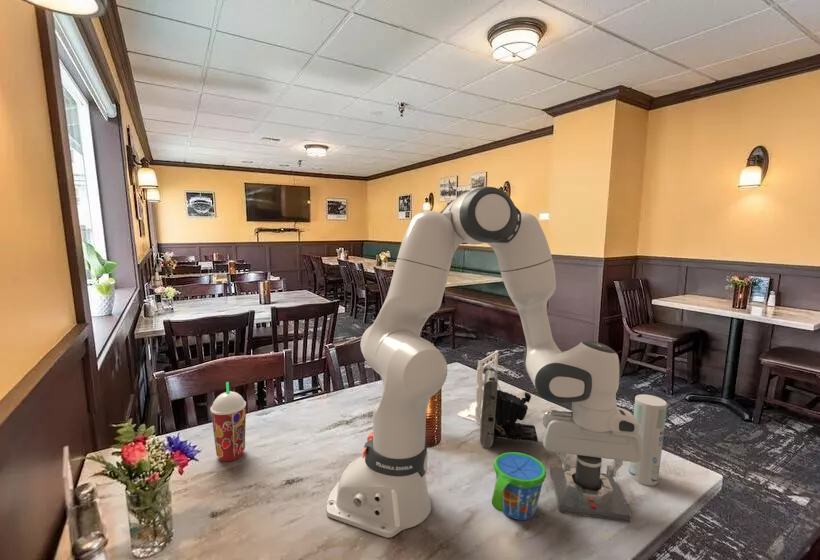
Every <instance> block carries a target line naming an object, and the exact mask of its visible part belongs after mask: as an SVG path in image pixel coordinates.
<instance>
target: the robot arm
mask: <svg viewBox="0 0 820 560" xmlns="http://www.w3.org/2000/svg"><path fill="white" fill-rule="evenodd" d="M402 238H403V239H402V241H401V243H400V246H399V251H398V255H397V259H396V262H395V266H394V269H393V273H392V277H391V281H390V285H389V288H388V290H387V291H388V292H387V295H386V297H385V300H384V302H383V304H382V307H381V308H380V310H379V312H378V313H377V316H376V318H375V320H374V322H373V323H372V324H371V325H369V327H367V328H366V329H365V331H364V332H363V334H362V335H361V339H360V350H361V353H362V355H363V358H364V360H365V362H366V363H367V365H368V366H369V367H370V368H371V369H372V370H374V371H375V372H376V373H377V374H378V375H379V376H380V378H381V381H382V392H381V398H380V399H379V402H377V403H376V404H375V406H374V408H373V411H372V431H371V432H369V435H368V437H367V439H366V440H367V441H366V442H365V445H364V446H363V447H364V448H363V450H362V453H361V454H362V455H360V456H359V457H357V458H356V459H354V460H353V461H351V462H350V463H349V464H348V465H347V466H346V468H345V470H344V471H343V473H342V474H341V477H340V480H338V482H337V483H336V484H335V485H334V487H333V488H332V490H331V492H330V494H329V496H328V497H327V501H326V507H325V512H326V516H327V517H329V518H331V519H333V520H336V521H338V522H341V523H344V524H347V525H350V526H353V527H355V528H358V529H361V530H363V531H366V532H370V533H373V534H375V535H378V536H382V537H383V538H387V539H389V538H393V537H394V536H396V535H397V534H399V533H400V532H401V531H404V530H406V529H410V528H413V527H416V526H418V525H419V524H422V522H424V521H425V520H426V519H427V517H429V515H430V513H431V510H432V500H431V497H430V494H429V490H428V484H427V475H426V472H427V470H428V469H427V468H428V447H427V446H428V444H427V441H426V421H427V420H426V419H427V410H428V406H429V403H430V400H431V398H432V397H433V396H435V395H436V394H437V393H438V392H439V391H441V389H442V387H443V386H444V384H445V383H446V380H447V376H448V364H447V360H446V358H445V356H444V355H443V354H442V353H441V351H440V350H439V349H438V348H437V347H436V346H435V345H434V344H433V343H432V342H431V341H429V340H427V339H425V338H423V337H421V335H420V334H421V331H422V329H423V327H424V326H425V324H426V322H427V320H428V319H429V318H430V317H431V315H434V313H437V311H439V309H440V308H441V305H442V302H443V297H444V293H445V289H446V286H447V282H448V278H449V275H450V272H449V271H450V269H451V265H452V259H453V257H454V255H455V252H456V250H457V249H458V248H459V246H460V245H481V244H487V245H488V246H490V248H491V249H492V250H493V252H494V254H495V255H496V256H495V257H496V258H497V263H498V268H499V271H500V272H499V273H500V276H501V279H502V282H503V284H504V287H505V290H506V292H507V294H508V296H509V298H510V300H511V301H512V303H513V304H514V307H515V308H516V309H517V312H518V314H519V318H520V322H521V323H520V324H521V326H522V327H521V328H522V331H523V335H524V340H525V348H524V354H523V364H522V365H523V368H524V370H525V372H526V374H527V375H528V377H529V379H530V380H531V383H532V384H533V386H534V388H535V389H536V391H537V393H538V395H539V396H540V397H541V398H542V399H544V400H546V401H547V402H550V403H553V404H569V403H571V404H572V405H571V411H568V410H567V411H565V410H558V409H557V410H556V409H551V410H550V411H547V412H545V413H544V415H543V418H542V421H543V422H542V425H543V427H544V428H543V433H542V444H543V445H542V446H543V447H544V448H545V450H546V451H547V452H550V453H551V452H552V453H558V455H559V458H560V460H561V461H562V465H561V466H562V467H561V468H563V470H566V471H570V469H572V468H571V466H572V465H571V460H568V459H566V457H567V454H568V455H575V456H577V455H582V456H590V457H598V458H601V459H608V460H613V462H612V463H611V464H610V465H609V464H607V465H606V474H608V476H610V477H613V478H616V477H617V471H618V470H619V469H620V468H621V467H622V466H623V465H624V463H623V462H628V463H629V462H639V461H640V460H641V459H642V454H643V445H642V438H641V436H640V434H639V433H638V432H639V431H640V425H639V423H638V421H637V420H636V418H635V417H634V414H633V413H631V412H630V410H627V409H624V408H623V407H622V408H621V407H619V406H617V405H618V403H617V398H616V395H617V392H618V390H619V387H620V386H619V385H620V359H619V355H618V354H617V352H616V351H615V350H614V349H613V348H611V347H610V346H608V345H606V344H603V343H602V342H601V343H600V342H597V341H593V340H592V341H591V340H583V341H581V342H580V343H579V344H577V345H576V346H574V347H572V348H570V349H568V350H566V351H562V349H561V348H560V346H559V345H558V344H557V343H556V342H555V340H554V337H553V334H552V329H551V325H550V320H549V315H548V311H547V310H548V309H547V304H548V302H549V299H550V298H551V297H552V296H553V295H554V293H555V291H556V289H557V286H556V284H557V282H556V281H557V279H556V278H557V277H556V270H555V269H556V268H555V264H554V260H553V256H552V253H551V249H550V246H549V244H548V241H547V238H546V235H545V232H544V230H543V228H542V226H541V224H540V222H539V220H538V219H537V217H536V216H535V215H533V214H531V213H528V212H521V211H520V209H519V208H518V207H517V206H516V205H515V203H514V201H513V200H512V198H511V197H510V196H509V195H508V194H507V193H506V192H505V191H504V190H502V189H500V188H497V187H494V186H480V187H477V188H474V189H473V190H468V191H465V192H463V193H462V194H461V193H460V195H458V196H457V197H455V198H454V199H452V200H451V201H450V202H448V204H447V205H446V206H445V207H444V208H443V209H442V210H441V211H440V212H438V211H435V210H434V211H432V210H428V211H427V210H426V211H422V212H418V213H416V214H415V215H414V216H413V217H412V219H411V220H410V223H409V224H408V226H407V229H406V231H405V233H404V236H403V237H402Z"/></svg>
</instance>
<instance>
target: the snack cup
mask: <svg viewBox="0 0 820 560" xmlns="http://www.w3.org/2000/svg"><path fill="white" fill-rule="evenodd" d="M493 468H494V469H493V470H494V473H495V474H496V482H495V484H494V489H493V495H492V498H491V505H492V507H493V508H494V509H495V510H496V511H498V512H500V513H502V512H503V513H504V515H506V516H507V517H510V518H512V519H515V520H520V521H521V520H523V521H527V520H529V519H531V518H533V516H534V515H535V513H536V511H537V507H538V503H539V500H540V496H541V492H542V486H543V483H544V482H545V479H547V471H546V467H545V466H544V465H543V463H542V462H541V460H539V459H537V458H535V457H534V456H532V455H529V454H526V453H523V452H517V451H516V452H515V451H514V452H513V451H511V452H503V453H502V454H499V455H497V456H496V458H495V460H494V461H493Z"/></svg>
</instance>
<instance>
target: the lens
mask: <svg viewBox="0 0 820 560" xmlns="http://www.w3.org/2000/svg"><path fill="white" fill-rule="evenodd" d="M602 461H603V460H602V458H598V457H590V456H582V455H576V463H575V467H576V474H575V483H576V484H577V485H579V486H580V487H582V488H584V489H587V490H595V491H599V481H600V473H601V471H602V469H601V468H602Z"/></svg>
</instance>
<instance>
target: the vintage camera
mask: <svg viewBox="0 0 820 560" xmlns="http://www.w3.org/2000/svg"><path fill="white" fill-rule="evenodd" d="M498 376H499V375H498V371H497V372H496V371H495V370H494V368H490V367H489V369H487V370H486V371H485V373H484V379H483V380H484V386H483V400H482V406H481V409H482V414H481V423H480V425H479V426H480V428H479V429H480V430H479V431H480V432H479V442H480V445H481V446H482V447H483V448H486V449H487V448H488V449H489V448H490V447H492V445H493V444H494V438H498V439H507V440H514V441H526V442H534V443H536V442H537V443H538V442H539V438H538V434H537V430H536V426H535V425H534V424H526V423H525V424H524V423H519V422H517V420H519V421H523V420H524V419H525V417H526V415H527V413H528V410H529V407H528V405H527V404H528V403H529V402H530V401H531V398H532V395H531V394H530V393H529V392H526V391H524V397H518V396H517V395H515V394H512V393H509V392H506V391H503V390H502V389H501V390H499V388H498V385H497V384H499V378H498ZM526 403H527V404H526Z"/></svg>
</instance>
